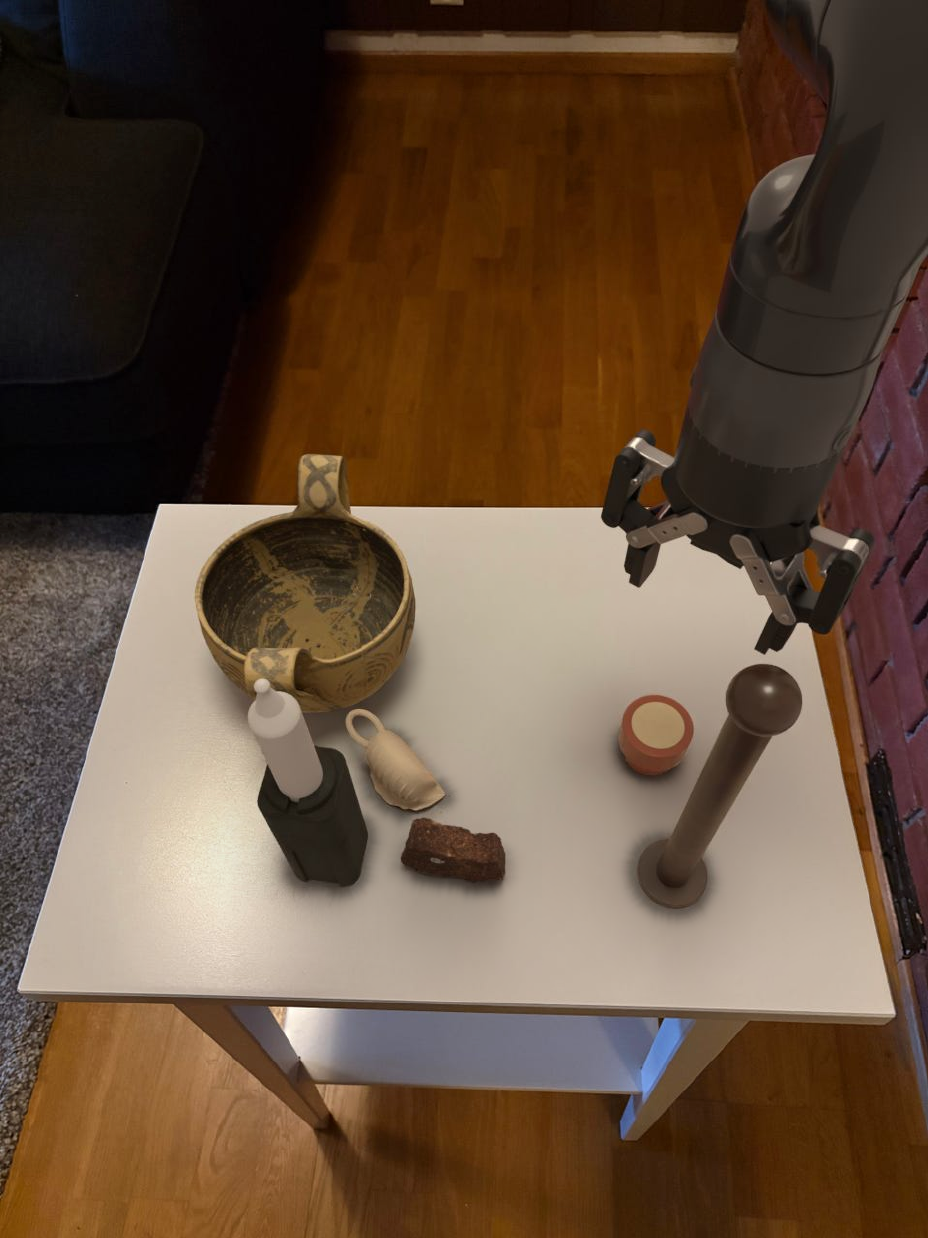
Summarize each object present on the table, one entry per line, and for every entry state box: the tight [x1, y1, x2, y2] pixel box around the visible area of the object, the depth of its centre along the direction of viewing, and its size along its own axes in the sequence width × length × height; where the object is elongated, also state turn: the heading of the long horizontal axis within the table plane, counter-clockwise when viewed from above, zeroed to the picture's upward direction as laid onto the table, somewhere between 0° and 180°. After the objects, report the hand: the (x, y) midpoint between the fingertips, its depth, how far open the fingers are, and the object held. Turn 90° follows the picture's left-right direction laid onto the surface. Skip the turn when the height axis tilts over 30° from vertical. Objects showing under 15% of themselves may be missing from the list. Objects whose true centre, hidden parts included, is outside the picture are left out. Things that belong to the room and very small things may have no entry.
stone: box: [400, 817, 506, 884], centre depth 63 cm, size 8×3×5 cm, turn 80°
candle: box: [247, 678, 369, 888], centre depth 56 cm, size 5×5×25 cm
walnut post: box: [637, 663, 803, 909], centre depth 53 cm, size 5×5×28 cm
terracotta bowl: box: [618, 694, 695, 776], centre depth 68 cm, size 5×5×4 cm
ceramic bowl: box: [194, 453, 416, 713], centre depth 69 cm, size 22×17×15 cm
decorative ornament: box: [345, 708, 446, 811], centre depth 67 cm, size 4×8×5 cm, turn 37°
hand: (701, 608), depth 54 cm, fingers open, 8 cm apart
